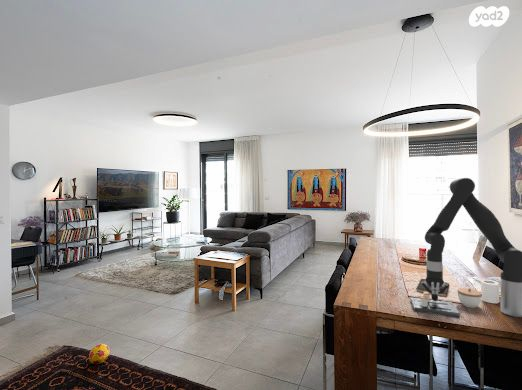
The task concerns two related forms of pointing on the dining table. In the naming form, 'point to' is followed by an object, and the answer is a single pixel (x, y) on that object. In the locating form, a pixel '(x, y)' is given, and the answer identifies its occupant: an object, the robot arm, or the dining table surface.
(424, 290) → the hardcover book
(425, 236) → the robot arm
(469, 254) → the dining table surface
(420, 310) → the console
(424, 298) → the fader
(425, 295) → the fader
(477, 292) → the lidded jar
